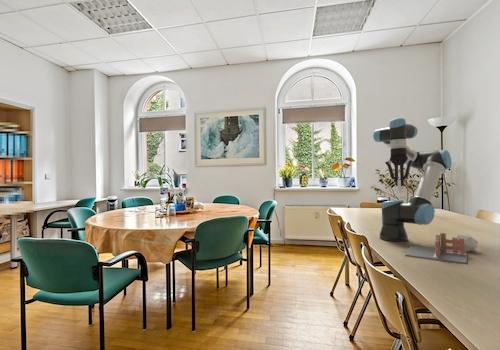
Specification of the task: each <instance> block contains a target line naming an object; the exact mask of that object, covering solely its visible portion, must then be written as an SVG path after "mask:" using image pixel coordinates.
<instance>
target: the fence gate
mask: <svg viewBox="0 0 500 350" xmlns="http://www.w3.org/2000/svg"><path fill="white" fill-rule="evenodd" d="M434 244H435V247H434V248H436V256H437V257H440V249H441V237H440V234H435V240H434Z"/></svg>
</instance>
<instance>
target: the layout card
mask: <svg viewBox="0 0 500 350" xmlns="http://www.w3.org/2000/svg"><path fill="white" fill-rule="evenodd" d="M404 256H405V257H412V258H419V259H426V260H434V261H439V260H440V261H442V262H447V261H448V262H447V263H454V262H455V263H456V264H460V265H461V264H464V265H467V264H468V263H467V262H468V261H467V260H468V252H465V254H461V253H460V251H458V253H453V250H449V249H446V253H444V252H441V248H440V257H437V256H436V248H435V247H426V246H419V245H417V246H416V245H411V246H410V248H409V249H408V250H407V252H406V253H405V254H404Z"/></svg>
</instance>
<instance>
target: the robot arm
mask: <svg viewBox="0 0 500 350" xmlns="http://www.w3.org/2000/svg"><path fill="white" fill-rule="evenodd" d="M417 135H418V128H417V126H415V125H413V124H407V122H406V119H405V118H402V117H401V118H400V117H399V118H393V119H390V120H389V126H388V127H384V128H379V129H375V130H374V131H373V135H372V136H373V138H372V139H373V140H374V141H375V143H376V142H377V143H381V142H382V143H384V144H385V145H386V146H387V148H389V149H390V150H389V151H390V158H389V159H388V160H387V161H385V162H384V164H385V165H386V166H387V168H388V171H389V172H388V173H389V175H390V178H391V179H392V180H394V181H395V183H394V185H395V187H397V193H402V192H403V186H405V180H406V179H408V177H409V173H410V169H411V168H413V169H416V170H421V171H423V172H422V175H421V178H420V180H419V183H418V186H417V187H416V191H415V193H414V196H413V197H410V198H409V200H408V202H404V200H403V199H397V200H395V199H394V200H387V201H383V202H382V203H381V221H382V223H381V224H382V226H381V229H380V232H379V239H381V240H384V241H390V242H407V241H408V240H409V236H408V234H407V231H406V228H405V223H406V224H413V225H421V226H422V225H425V226H427V225H429V224H431V223H432V222H433V220H434V218H435V212H436V211H435V210H436V209H435V207H434V205H433V203H432V199H433V197H434V193H435V191H436V188H437V185H438V182H439V179H440V177H441V175H443V174H444V173H445V171H446V170H448V169H451V168H452V156H451V154H450V152H449V151H448V150H447V149H439V150H428V151H416V150H414V149H411V148H410V147H409V146H408V145H407V139H408V140H409V139H413V138H415V137H416V136H417ZM405 164H406V169H405V172H404V165H405ZM392 165H393V166H394V172H393V167H392ZM399 171H400V173H399ZM399 178H400V179H399Z"/></svg>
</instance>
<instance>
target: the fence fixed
mask: <svg viewBox="0 0 500 350" xmlns="http://www.w3.org/2000/svg"><path fill="white" fill-rule="evenodd" d="M439 235H440V249H441V252H444V253H446V250H453V253H458V251H460V253H461V254H465V248H464V238H459V240H457V237H454V236H453V237H451V239H448V238H447V234H446V232H440V234H439ZM448 244H452V245H448ZM457 244H459V246H460V247H458V246H457Z"/></svg>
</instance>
